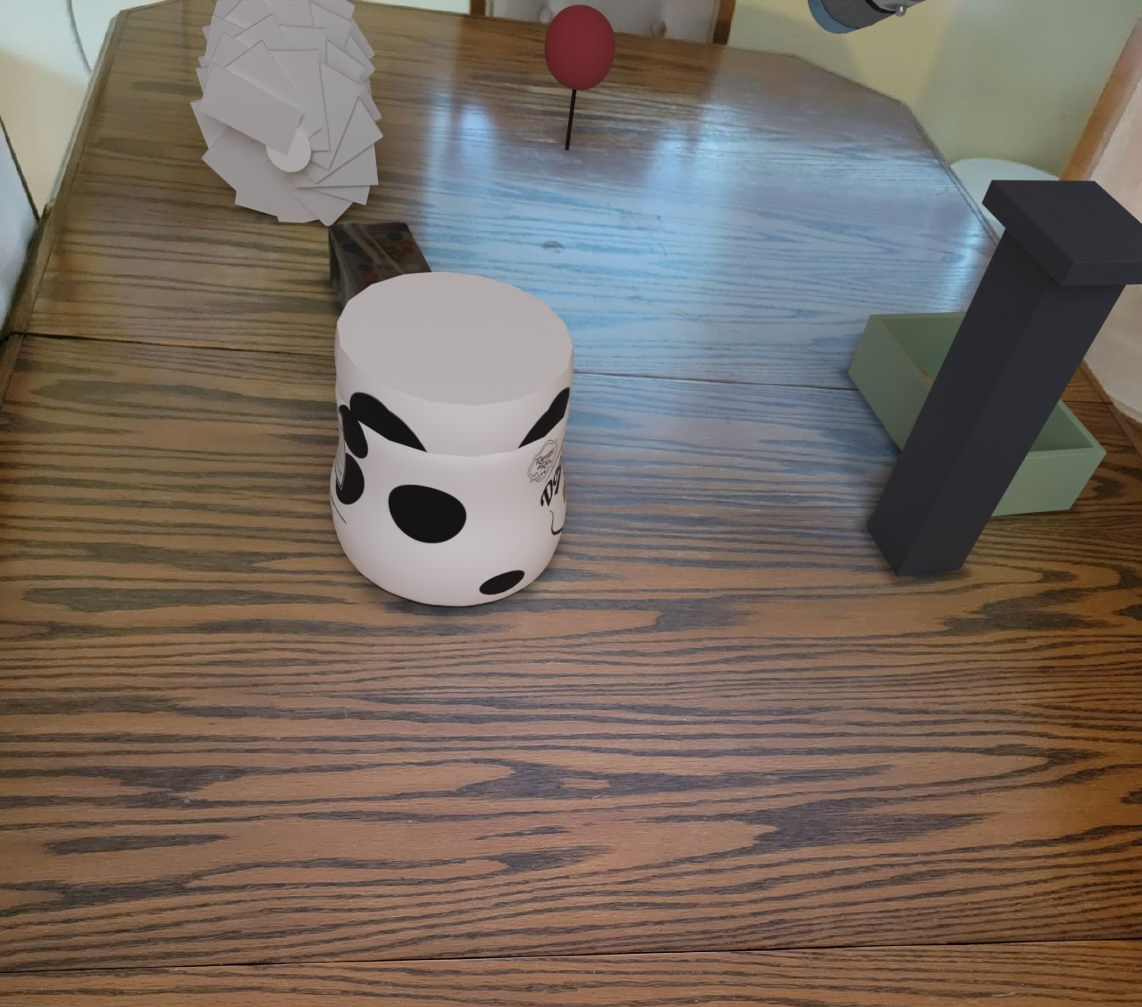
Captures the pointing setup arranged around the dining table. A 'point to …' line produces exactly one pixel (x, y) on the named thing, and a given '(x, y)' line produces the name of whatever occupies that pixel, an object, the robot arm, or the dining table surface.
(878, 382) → the bin
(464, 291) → the milk container
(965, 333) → the dark capped post
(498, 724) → the dining table surface
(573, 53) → the lollipop
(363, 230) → the beverage carton
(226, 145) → the spiral staircase
